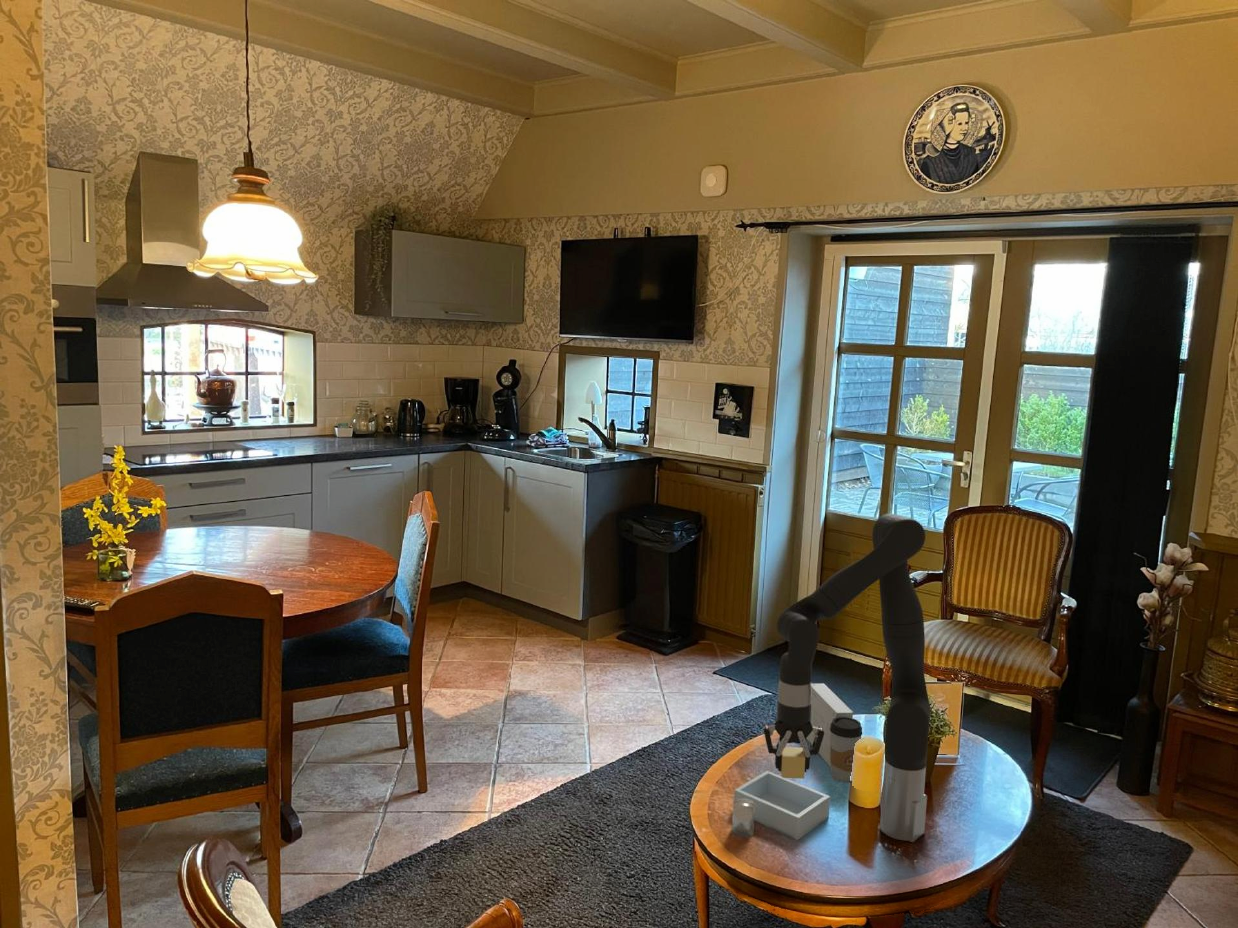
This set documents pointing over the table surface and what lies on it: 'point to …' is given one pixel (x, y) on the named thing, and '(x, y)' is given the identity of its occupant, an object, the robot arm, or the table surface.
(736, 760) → the table surface
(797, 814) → the tote
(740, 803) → the metal cylinder
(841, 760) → the coffee cup
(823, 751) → the skincare box
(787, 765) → the ochre cube
